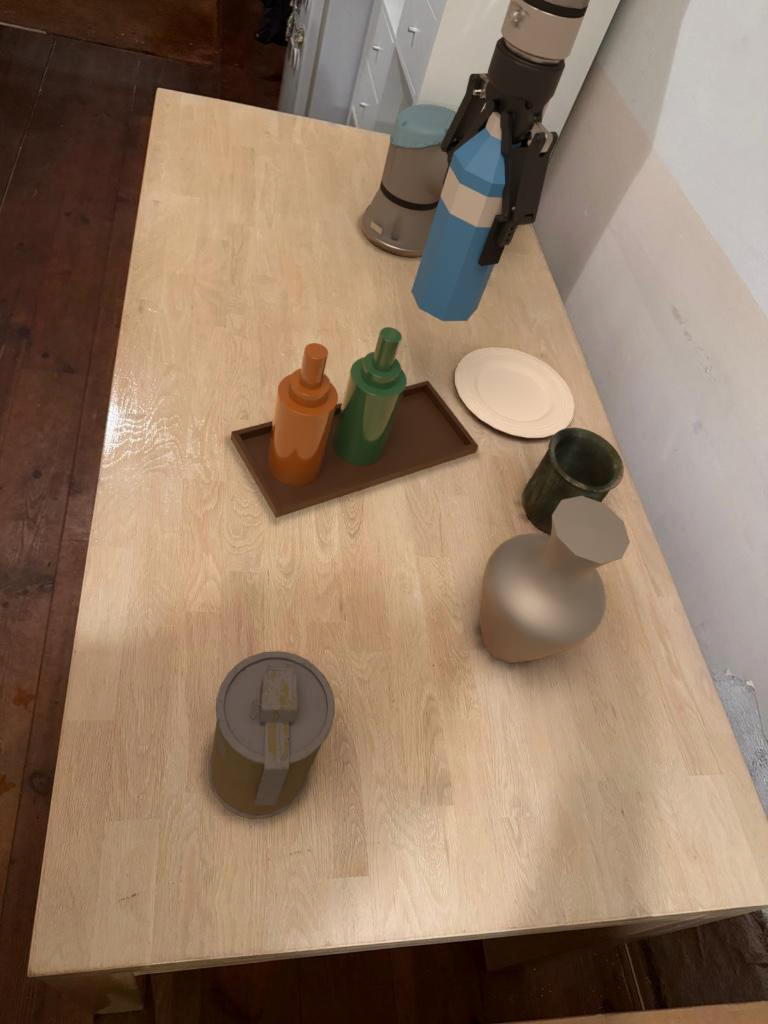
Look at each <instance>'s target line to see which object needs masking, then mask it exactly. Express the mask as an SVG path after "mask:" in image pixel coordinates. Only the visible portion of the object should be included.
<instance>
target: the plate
mask: <svg viewBox="0 0 768 1024" xmlns="http://www.w3.org/2000/svg"><path fill="white" fill-rule="evenodd" d="M454 387H455V389H456V392H457V394H458V397H459V399H460V400H461V401H462V403H463V404H464V406H465V407H466V408H467V410H468V411H469V412H470V413H472V414H473V415H474V416H475V417H476V418H477V419H478V420H479V421H480V422H483V423H484V424H485V425H487V426H489V427H490V428H491V429H494V430H497V431H499V432H500V433H501V432H502V433H504V434H507V435H508V436H513V437H518V438H524V439H545V438H548V437H552V436H553V435H554V434H555V433H557V432H558V431H560V430H562V429H565V428H568V426H569V425H570V423H571V422H572V420H573V419H574V416H575V415H574V414H575V410H576V406H575V400H574V395H573V393H572V391H571V390H570V387H569V385H568V384H567V382H566V381H565V379H563V378H562V376H561V375H560V374H559V373H558V372H557V371H556V370H555V369H553V367H551V366H550V365H549V364H548V363H546V362H544V361H542V360H541V359H539V358H537V357H535V356H534V355H532V354H529V353H526V352H524V351H522V350H517V349H514V348H508V347H502V346H501V347H500V346H499V347H497V346H488V347H483V348H479V349H475V350H473V351H471V352H468V353H467V354H465V355H464V356H463V357H462V359H460V360H459V361H458V363H457V366H456V368H455V371H454Z"/></svg>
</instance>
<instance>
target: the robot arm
mask: <svg viewBox="0 0 768 1024" xmlns="http://www.w3.org/2000/svg"><path fill="white" fill-rule="evenodd" d="M590 1H591V0H509V3H508V6H507V10H506V13H505V15H504V19H503V22H502V25H501V29H500V33H501V35H502V36H501V37H500V38H499V39H497V41H496V43H495V46H494V50H493V52H492V56H491V59H490V62H489V66H488V69H487V72H484V73H483V72H482V73H479V72H478V73H471V74H470V75H469V77H468V81H467V86H466V91H465V93H464V96H463V98H462V100H461V102H460V104H459V106H458V108H457V110H456V111H455V110H454V109H451V108H449V107H446V106H442V105H437V104H429V103H427V104H426V103H422V104H416V105H415V104H414V105H410V106H408V107H406V108H404V109H403V110H402V111H400V112H399V113H398V115H397V117H396V119H395V122H394V125H393V128H392V132H391V134H390V135H389V145H388V149H387V153H386V157H385V163H384V167H383V172H382V176H381V180H380V185H379V187H378V190H377V191H376V193H375V195H373V196H374V197H373V198H372V200H371V202H370V203H369V205H368V206H367V207H366V208H365V211H364V212H363V216H362V220H361V226H360V227H361V231H362V232H363V233H362V234H363V235H364V236H365V237H366V239H367V240H369V242H370V243H372V244H373V245H374V246H376V247H377V248H379V249H380V250H382V251H385V252H387V253H390V254H392V255H396V256H401V257H405V258H406V257H407V258H418V257H422V255H423V252H424V248H425V245H426V242H427V239H428V235H429V232H430V229H431V226H432V222H433V219H434V216H435V212H436V209H437V206H438V203H439V199H440V196H441V193H442V190H443V186H444V183H445V180H446V176H447V173H448V170H449V167H450V163H451V160H452V157H453V154H454V152H455V151H456V150H457V149H459V148H460V147H461V146H462V145H463V144H465V143H466V142H467V141H469V140H470V139H471V138H473V137H474V136H475V135H476V134H478V133H479V132H480V131H482V130H483V129H484V128H486V125H487V122H488V119H489V116H490V115H491V114H492V112H498V113H499V114H500V115H501V117H500V128H501V130H502V134H501V154H502V155H503V156H504V167H505V186H504V188H503V194H502V214H499V215H495V218H494V221H493V223H492V226H491V229H490V231H489V234H488V237H487V239H486V242H485V245H484V247H483V250H482V253H481V256H480V258H479V261H478V264H479V265H480V266H487V265H493V264H495V265H498V264H499V262H500V260H501V257H502V255H503V252H504V250H505V247H506V246H509V245H510V244H511V242H512V240H513V238H514V235H515V233H516V230H517V228H518V227H519V226H525V225H531V224H534V223H535V222H536V219H537V215H538V212H539V211H538V210H539V206H540V202H541V196H542V193H543V189H544V184H545V180H546V175H547V172H548V171H547V170H548V166H549V163H550V162H549V161H550V157H551V155H552V152H553V151H554V148H555V146H556V145H557V142H558V141H559V134H558V132H556V131H549V130H548V129H547V128H546V127H545V126H544V124H543V120H544V117H545V114H546V111H547V109H548V107H549V104H550V101H551V100H552V98H553V97H554V96H555V94H556V91H557V88H558V86H559V83H560V81H561V79H562V76H563V73H564V70H565V68H566V60H567V58H569V57H570V56H571V53H572V50H573V47H574V45H575V42H576V39H577V37H578V35H579V32H580V29H581V26H582V23H583V21H584V19H585V16H586V12H587V10H588V8H589V3H590ZM519 143H521V145H520V147H514V148H512V144H519ZM513 207H515V209H513V210H512V208H513Z"/></svg>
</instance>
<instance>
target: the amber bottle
mask: <svg viewBox="0 0 768 1024" xmlns="http://www.w3.org/2000/svg"><path fill="white" fill-rule="evenodd" d="M303 351H304V352H303V357H302V363H301V367H300V368H297V369H296V370H294V371H293V372H292V373H290V374H287V375H286V376H284V377H283V378H282V379H281V380H280V382H279V383H278V385H277V391H276V398H275V404H274V410H273V418H272V421H273V423H272V430H271V436H270V443H269V449H268V456H267V467H268V470H269V472H270V473H271V475H272V476H273V477H274V478H275V479H277V480H278V481H280V482H282V483H284V484H287V485H292V486H302V485H307V484H309V483H311V482H313V481H314V480H315V479H316V478H317V477H318V476H319V474H320V471H321V467H322V463H323V459H324V455H325V451H326V447H327V443H328V439H329V435H330V431H331V426H332V422H333V418H334V414H335V410H336V406H337V404H338V401H339V394H338V391H337V389H336V387H335V385H334V384H333V383H332V382H331V380H330V379H329V376H328V375H326V374H325V371H326V366H327V361H328V356H329V350H328V349H327V347H326V346H324V345H323V344H322V343H318V342H312V343H307V345H305V347H304V350H303Z"/></svg>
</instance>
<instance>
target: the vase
mask: <svg viewBox="0 0 768 1024" xmlns="http://www.w3.org/2000/svg"><path fill="white" fill-rule="evenodd" d="M630 543H631V541H630V537H629V534H628V532H627V527H626V525H625V521H624V520H623V519H622V518H621V517H620V516H618V514H616V512H615V511H613V510H612V509H611V508H610V507H609V506H608V505H607V504H606V503H604V502H598V501H595V500H592V499H590V498H587V497H584V496H578V497H574V498H569V499H564V500H561V502H560V503H559V505H558V506H557V508H556V510H555V511H554V513H553V514H552V531H551V534H545V533H535V532H531V533H523V534H519V535H515V536H512V537H510V538H508V539H506V540H505V541H503V542H502V543H500V544H499V545H498V546H497V547H496V548H495V549H494V550H493V551H492V553H491V555H490V556H489V558H488V560H487V561H486V563H485V568H484V571H483V575H482V580H481V581H482V582H481V590H480V601H479V602H480V604H479V623H480V624H479V625H480V631H481V632H480V633H481V639H482V644H483V647H484V648H485V649H486V650H487V651H488V652H489V654H491V656H492V657H493V659H496V660H499V661H501V662H504V663H508V664H513V663H520V662H521V663H523V662H529V661H534V660H539V659H542V658H546V657H549V656H552V655H555V654H558V653H561V652H564V651H567V650H569V649H571V648H573V647H577V646H578V645H580V644H582V643H583V642H584V641H586V640H588V639H590V637H591V636H593V634H594V633H596V631H597V630H598V628H599V627H600V625H601V623H602V621H603V620H604V616H605V613H606V608H607V595H606V589H605V585H604V583H603V580H602V577H601V575H600V573H599V571H598V570H597V569H598V568H600V567H603V566H604V565H607V564H609V563H612V562H616V561H619V560H622V559H623V557H624V555H625V553H626V551H627V549H628V547H629V546H630Z"/></svg>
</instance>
